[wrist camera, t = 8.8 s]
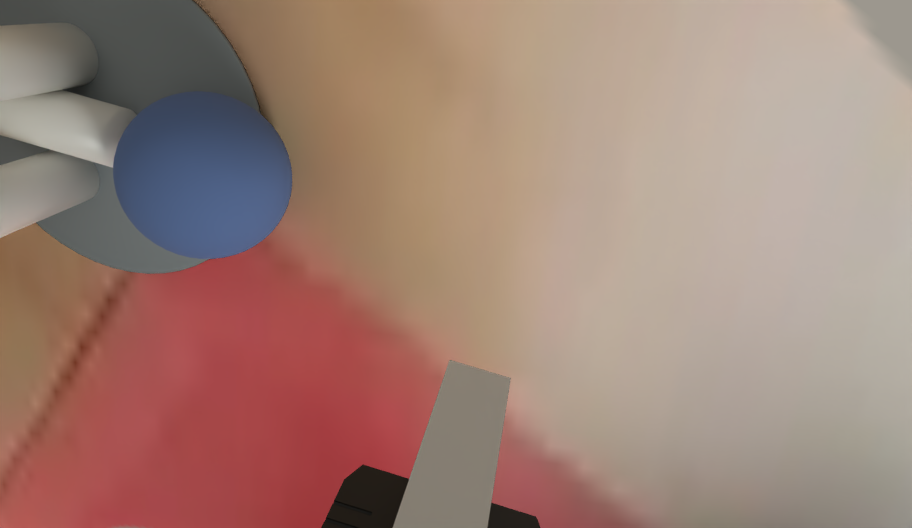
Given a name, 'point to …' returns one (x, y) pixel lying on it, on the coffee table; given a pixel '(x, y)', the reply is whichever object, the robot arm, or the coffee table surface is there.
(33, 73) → the pin
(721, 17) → the coffee table surface
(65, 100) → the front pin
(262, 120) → the ball
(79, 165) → the pin
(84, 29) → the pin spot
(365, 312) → the coffee table surface
